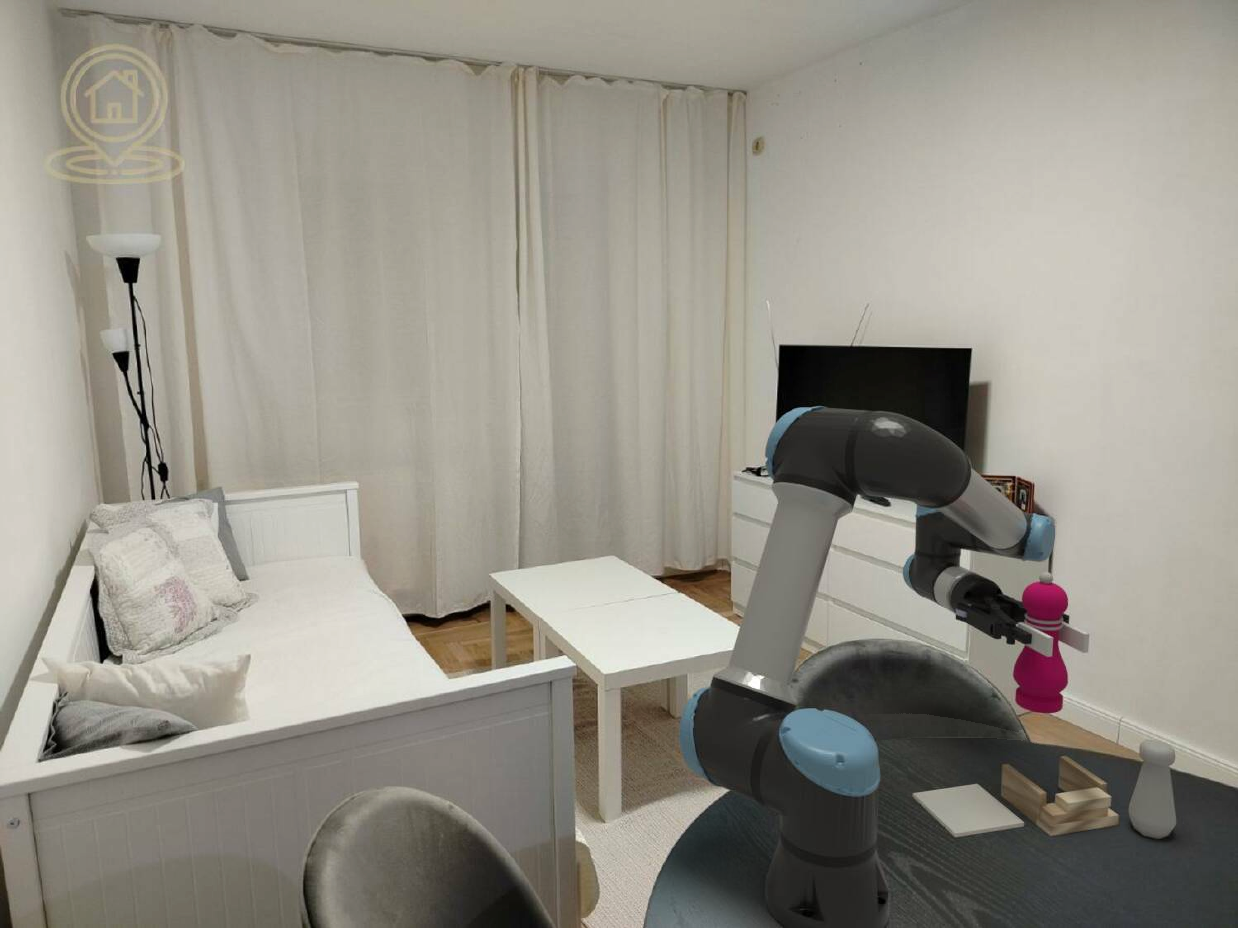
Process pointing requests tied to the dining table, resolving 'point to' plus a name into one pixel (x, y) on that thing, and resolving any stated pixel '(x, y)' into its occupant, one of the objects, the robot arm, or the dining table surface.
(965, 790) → the mat
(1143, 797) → the salt shaker
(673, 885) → the dining table surface
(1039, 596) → the pepper mill
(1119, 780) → the dining table surface
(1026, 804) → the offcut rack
